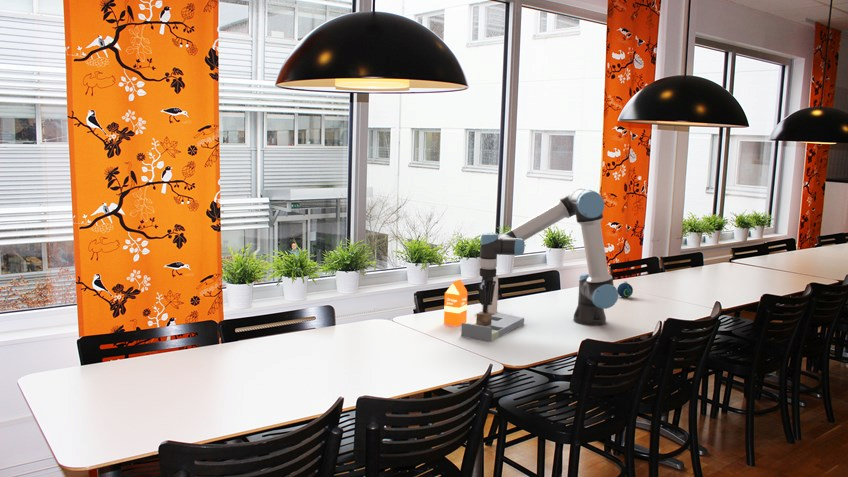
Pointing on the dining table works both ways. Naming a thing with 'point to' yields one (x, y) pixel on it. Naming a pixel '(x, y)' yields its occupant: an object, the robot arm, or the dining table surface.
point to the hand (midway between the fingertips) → (485, 318)
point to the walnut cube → (484, 318)
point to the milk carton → (494, 297)
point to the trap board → (492, 327)
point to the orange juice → (455, 304)
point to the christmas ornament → (625, 290)
